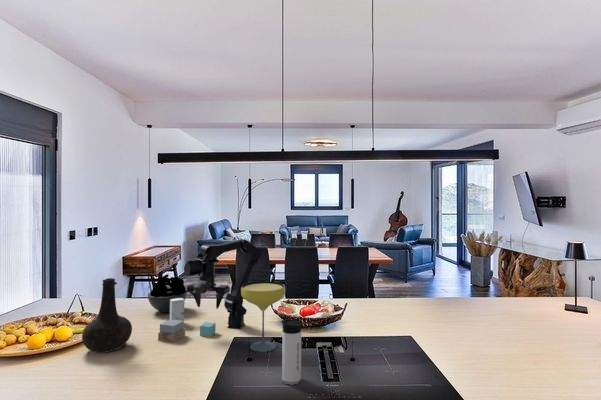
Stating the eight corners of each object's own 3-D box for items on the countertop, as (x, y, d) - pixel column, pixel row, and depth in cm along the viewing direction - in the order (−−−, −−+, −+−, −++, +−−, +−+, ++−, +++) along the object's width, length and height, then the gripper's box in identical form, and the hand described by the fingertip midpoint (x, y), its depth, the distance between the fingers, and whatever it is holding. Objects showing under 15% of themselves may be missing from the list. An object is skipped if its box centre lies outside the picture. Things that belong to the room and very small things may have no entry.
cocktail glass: (291, 342, 156) (291, 283, 156) (274, 359, 138) (275, 293, 139) (253, 336, 161) (253, 280, 162) (232, 352, 144) (232, 289, 144)
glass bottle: (80, 361, 136) (80, 285, 136) (83, 344, 152) (84, 276, 152) (133, 352, 144) (133, 281, 144) (130, 337, 160) (131, 273, 160)
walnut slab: (185, 336, 162) (185, 328, 162) (174, 343, 155) (174, 334, 155) (169, 334, 165) (169, 326, 165) (158, 341, 157) (158, 332, 157)
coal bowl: (179, 317, 188) (179, 280, 188) (140, 316, 188) (141, 280, 188) (191, 306, 208) (191, 273, 208) (156, 305, 208) (156, 272, 208)
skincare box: (171, 326, 174) (171, 301, 174) (169, 324, 177) (169, 299, 177) (184, 324, 177) (184, 299, 177) (182, 321, 181) (182, 297, 181)
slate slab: (183, 328, 162) (183, 320, 162) (173, 334, 155) (173, 325, 155) (170, 327, 164) (170, 319, 164) (159, 332, 157) (159, 324, 157)
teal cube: (215, 333, 166) (215, 323, 166) (210, 337, 161) (210, 326, 161) (205, 332, 167) (205, 322, 167) (199, 335, 162) (199, 325, 162)
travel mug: (280, 376, 125) (281, 317, 125) (300, 375, 125) (300, 317, 125) (281, 385, 118) (281, 324, 119) (301, 385, 119) (302, 323, 119)
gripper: (179, 275, 159) (179, 311, 159) (218, 277, 154) (218, 314, 154) (193, 270, 170) (193, 304, 170) (230, 272, 165) (230, 307, 165)
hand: (208, 307), depth 164 cm, fingers open, 9 cm apart
